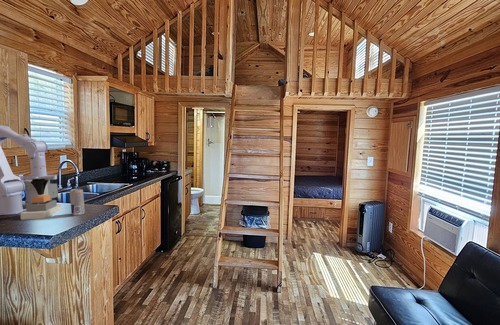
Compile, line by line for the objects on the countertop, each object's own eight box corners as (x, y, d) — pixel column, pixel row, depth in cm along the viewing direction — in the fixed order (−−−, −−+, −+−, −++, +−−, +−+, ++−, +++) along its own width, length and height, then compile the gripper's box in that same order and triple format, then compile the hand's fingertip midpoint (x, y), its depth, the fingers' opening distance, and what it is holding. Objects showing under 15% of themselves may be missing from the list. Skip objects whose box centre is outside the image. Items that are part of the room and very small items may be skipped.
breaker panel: (20, 219, 120) (19, 206, 119) (41, 210, 134) (39, 199, 133) (44, 218, 121) (43, 206, 120) (62, 209, 135) (61, 198, 134)
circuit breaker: (61, 202, 150) (58, 176, 149) (38, 209, 136) (36, 181, 135) (49, 202, 151) (46, 176, 150) (25, 209, 137) (22, 180, 135)
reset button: (32, 202, 124) (31, 197, 124) (39, 200, 129) (38, 195, 128) (43, 202, 124) (43, 197, 124) (50, 199, 129) (49, 194, 129)
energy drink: (75, 212, 130) (73, 189, 129) (86, 212, 130) (85, 188, 129) (69, 216, 125) (67, 191, 123) (81, 215, 125) (79, 191, 124)
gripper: (15, 168, 120) (18, 197, 121) (49, 167, 122) (52, 195, 123) (26, 166, 127) (28, 193, 128) (58, 165, 129) (61, 192, 130)
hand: (41, 194), depth 126 cm, fingers closed
